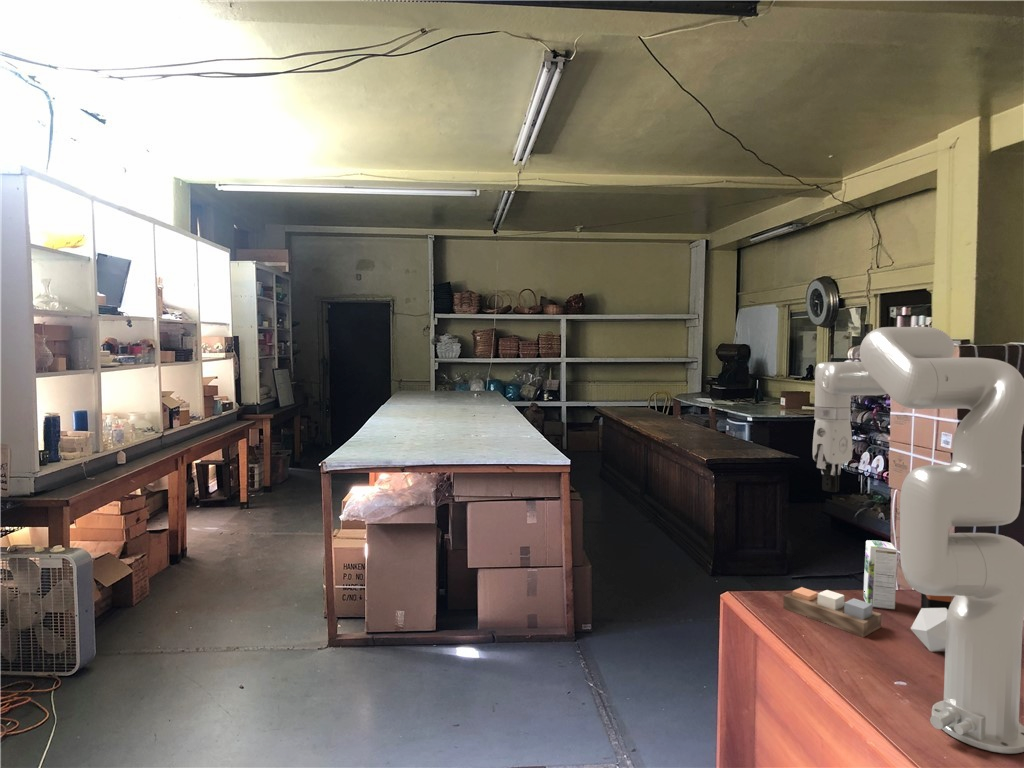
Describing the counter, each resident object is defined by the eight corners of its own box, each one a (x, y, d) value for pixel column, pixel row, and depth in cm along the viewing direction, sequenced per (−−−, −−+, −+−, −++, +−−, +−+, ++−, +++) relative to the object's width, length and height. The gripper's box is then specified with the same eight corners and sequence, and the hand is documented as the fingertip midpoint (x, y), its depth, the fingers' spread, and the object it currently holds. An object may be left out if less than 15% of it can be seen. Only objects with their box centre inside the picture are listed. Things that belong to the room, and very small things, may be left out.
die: (965, 666, 118) (981, 620, 120) (923, 641, 119) (939, 597, 121) (937, 660, 125) (952, 618, 128) (897, 637, 127) (913, 595, 129)
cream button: (844, 608, 137) (844, 595, 137) (835, 612, 135) (835, 599, 135) (826, 602, 141) (826, 589, 140) (817, 606, 138) (817, 593, 138)
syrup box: (862, 597, 149) (864, 539, 148) (890, 600, 147) (892, 541, 146) (867, 606, 143) (869, 546, 143) (896, 610, 141) (898, 549, 141)
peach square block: (817, 604, 142) (818, 592, 142) (808, 609, 140) (808, 596, 140) (801, 599, 146) (801, 587, 145) (792, 603, 143) (792, 590, 143)
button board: (881, 627, 133) (881, 613, 133) (863, 637, 128) (863, 623, 128) (801, 599, 148) (802, 587, 147) (783, 608, 143) (783, 595, 143)
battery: (927, 624, 134) (929, 580, 134) (920, 612, 140) (921, 569, 140) (951, 627, 132) (952, 582, 132) (942, 615, 139) (944, 572, 138)
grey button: (872, 617, 132) (872, 604, 132) (863, 622, 130) (863, 608, 130) (853, 611, 136) (853, 598, 136) (844, 615, 133) (844, 602, 133)
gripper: (831, 417, 136) (829, 498, 137) (864, 413, 145) (862, 489, 146) (799, 415, 143) (798, 492, 144) (832, 411, 151) (830, 483, 152)
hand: (830, 490), depth 145 cm, fingers closed
